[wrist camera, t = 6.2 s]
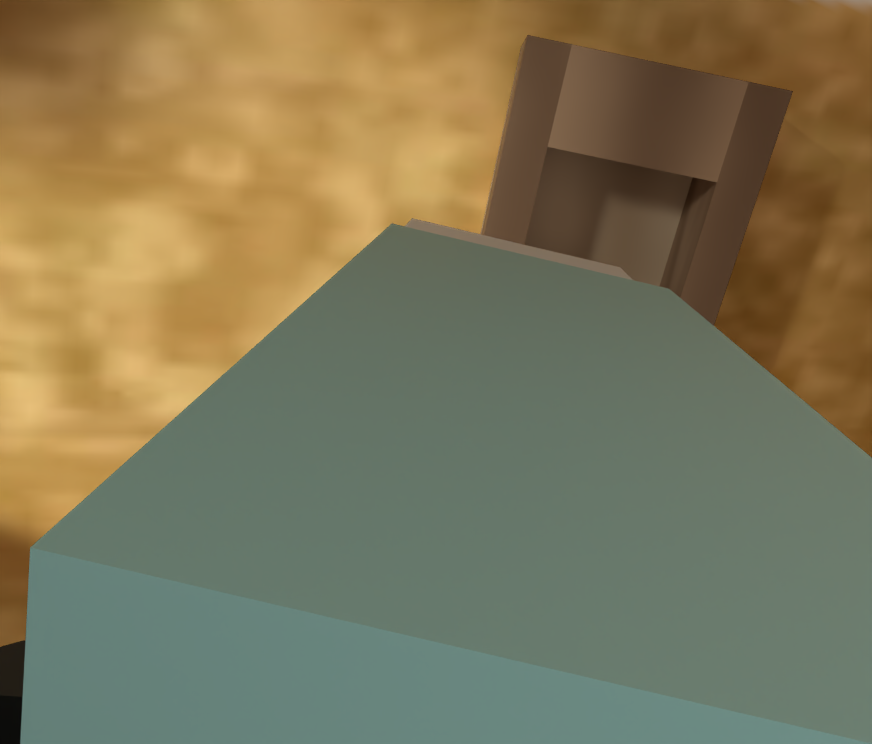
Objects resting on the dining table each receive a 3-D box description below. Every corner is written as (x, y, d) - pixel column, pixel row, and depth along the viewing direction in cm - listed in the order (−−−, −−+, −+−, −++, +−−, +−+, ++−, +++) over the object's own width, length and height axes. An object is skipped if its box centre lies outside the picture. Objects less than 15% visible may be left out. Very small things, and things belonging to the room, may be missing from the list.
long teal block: (324, 638, 17) (-29, 1718, 5) (415, 202, 14) (30, 545, 2) (494, 677, 17) (508, 1839, 5) (625, 251, 14) (1346, 854, 2)
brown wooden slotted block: (430, 463, 34) (424, 506, 30) (521, 47, 28) (527, 35, 24) (620, 502, 34) (638, 550, 30) (750, 95, 28) (792, 91, 24)
